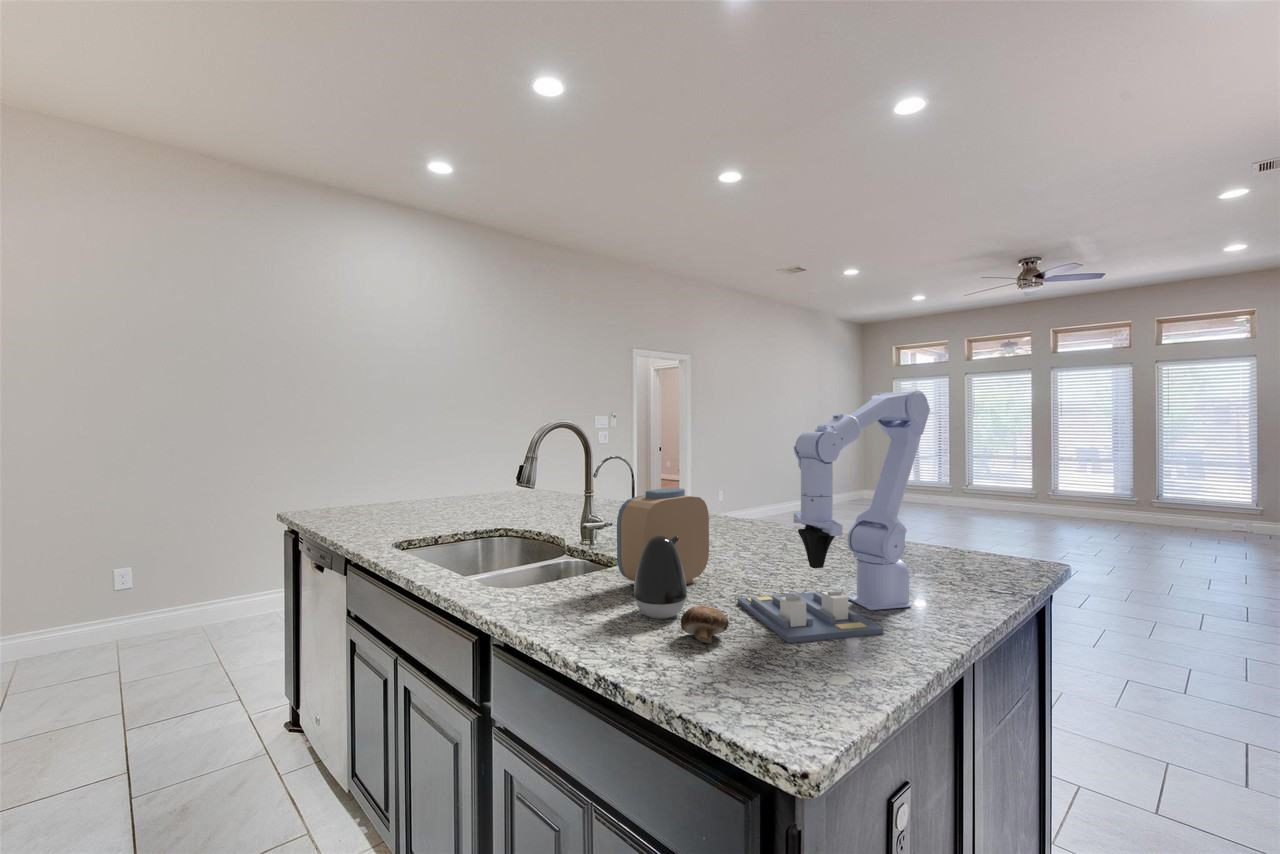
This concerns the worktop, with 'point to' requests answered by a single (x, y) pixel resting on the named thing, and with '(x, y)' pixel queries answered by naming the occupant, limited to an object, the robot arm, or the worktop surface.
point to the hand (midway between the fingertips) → (816, 567)
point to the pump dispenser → (660, 579)
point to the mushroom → (704, 622)
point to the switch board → (808, 619)
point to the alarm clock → (663, 529)
